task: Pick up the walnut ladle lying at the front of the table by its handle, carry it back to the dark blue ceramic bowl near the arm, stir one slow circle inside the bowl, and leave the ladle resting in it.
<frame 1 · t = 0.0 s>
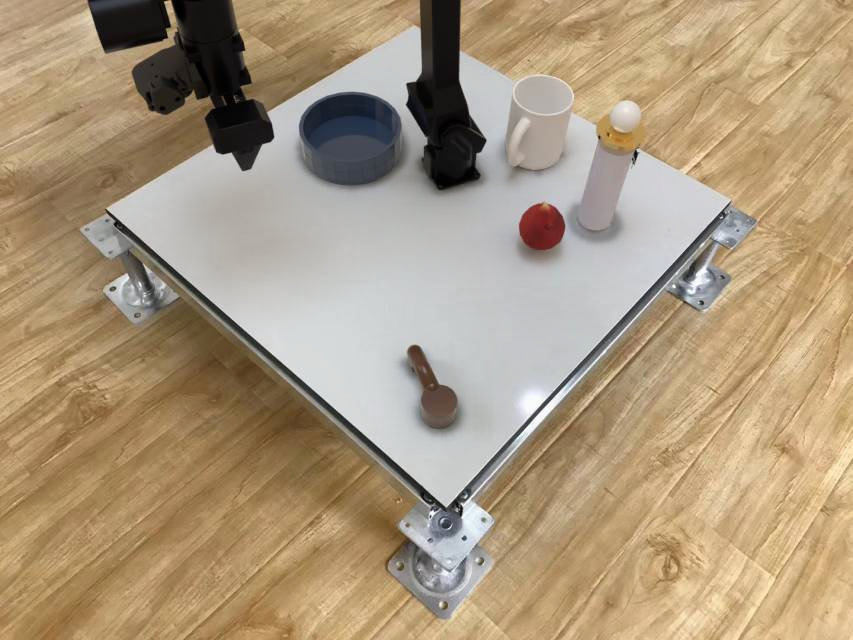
hand: (235, 143, 90), 15 cm above the table, tool pointing down, fingers open, 9 cm apart
onion: (537, 246, 101), on the table
mug: (525, 159, 110), on the table
bowl: (352, 149, 110), on the table
perfume bottle: (592, 222, 104), on the table
ladle: (438, 412, 87), on the table
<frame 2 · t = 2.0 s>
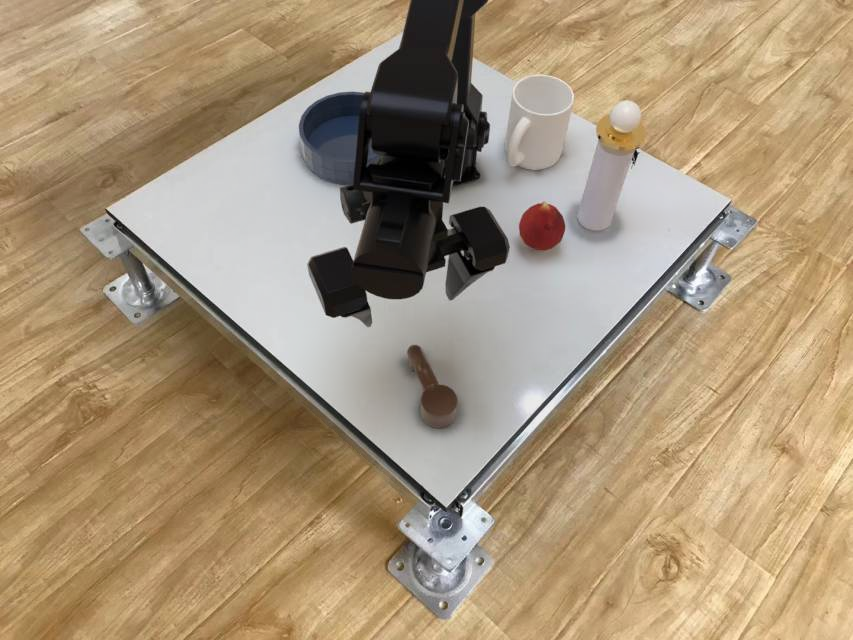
hand: (409, 309, 80), 12 cm above the table, tool pointing down, fingers open, 9 cm apart
nothing on the table moved.
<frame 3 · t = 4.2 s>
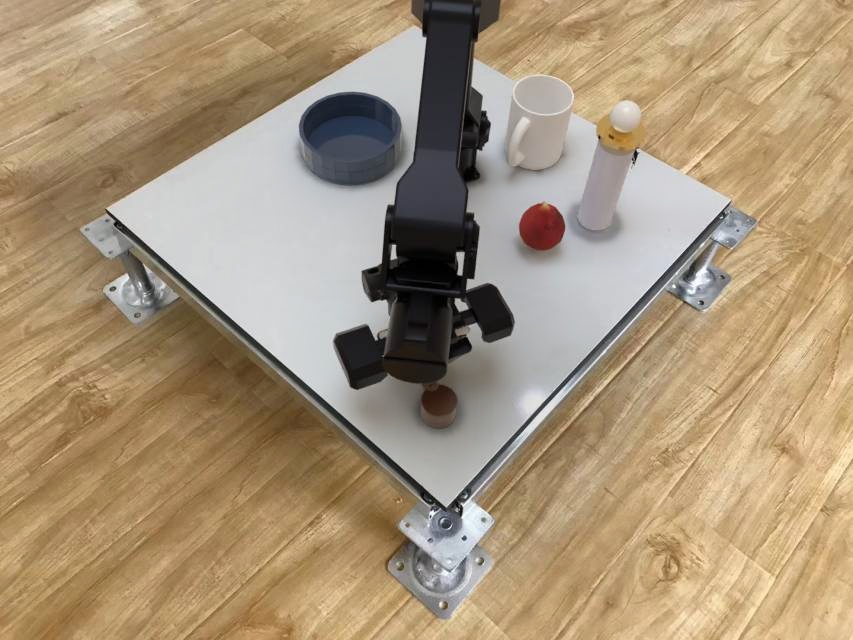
hand: (423, 373, 88), 2 cm above the table, tool pointing down, fingers closed on ladle, 2 cm apart
ladle: (438, 412, 87), on the table, touching gripper
everything else where it was.
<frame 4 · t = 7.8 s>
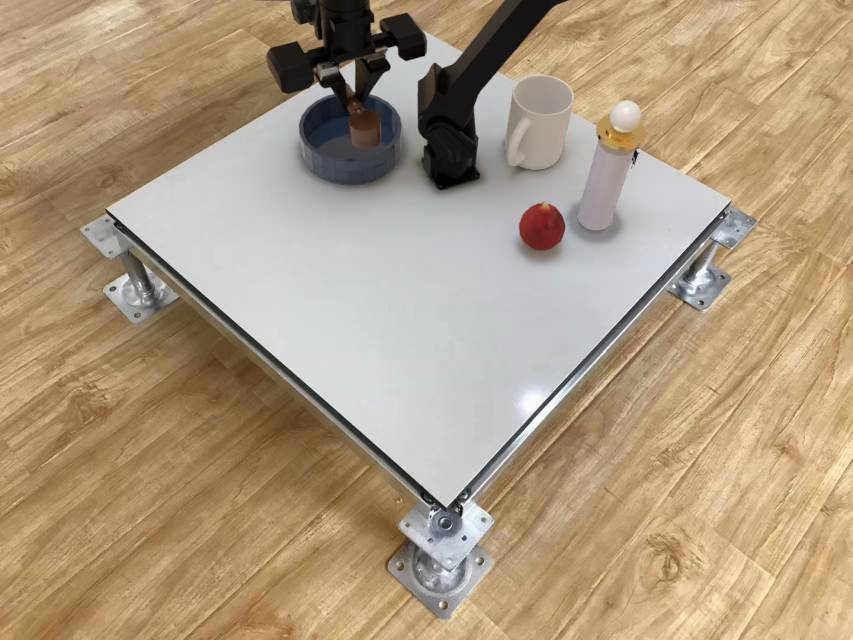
hand: (351, 107, 99), 11 cm above the table, tool pointing down, fingers closed on ladle
ladle: (365, 138, 98), point 10 cm above the table, touching gripper
everything else where it was.
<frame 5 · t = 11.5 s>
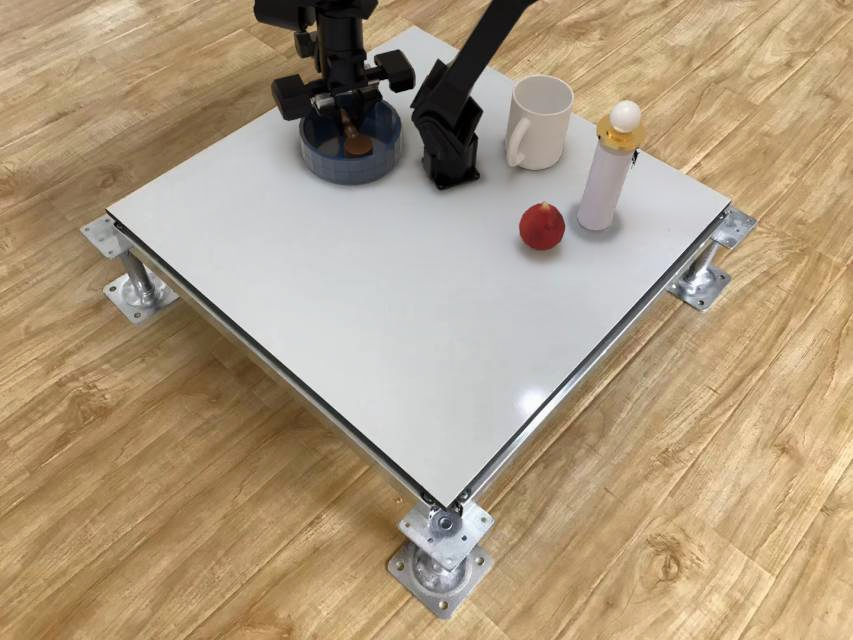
hand: (347, 132, 109), 2 cm above the table, tool pointing down, fingers closed
ladle: (359, 159, 108), point 1 cm above the table, touching bowl
everything else where it was.
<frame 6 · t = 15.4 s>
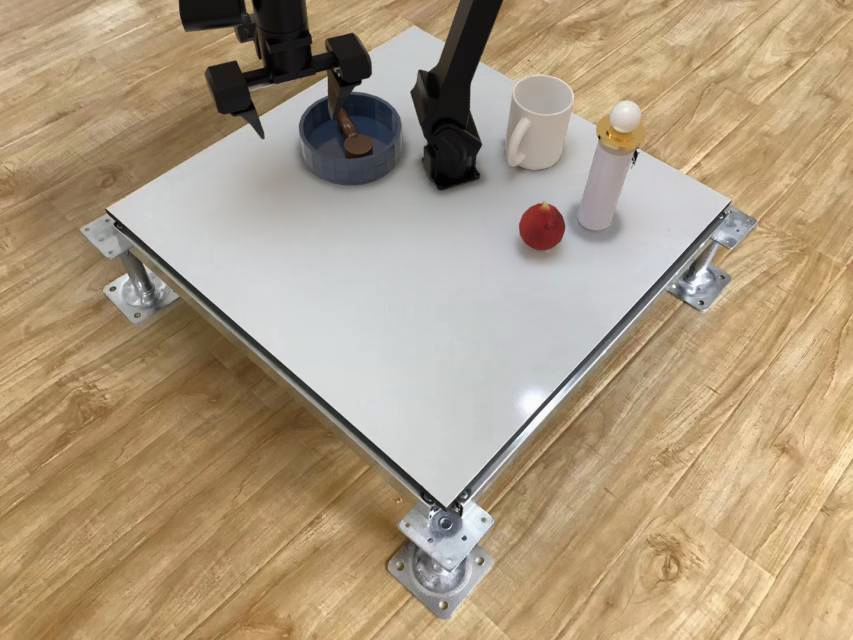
hand: (297, 127, 97), 11 cm above the table, tool pointing down, fingers open, 9 cm apart
nothing on the table moved.
at the end: ladle inside the target area in the bowl (1.2 cm from its centre), point 0.6 cm above the bowl's base; the gripper is holding nothing; ladle moved 40.9 cm from its start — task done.
